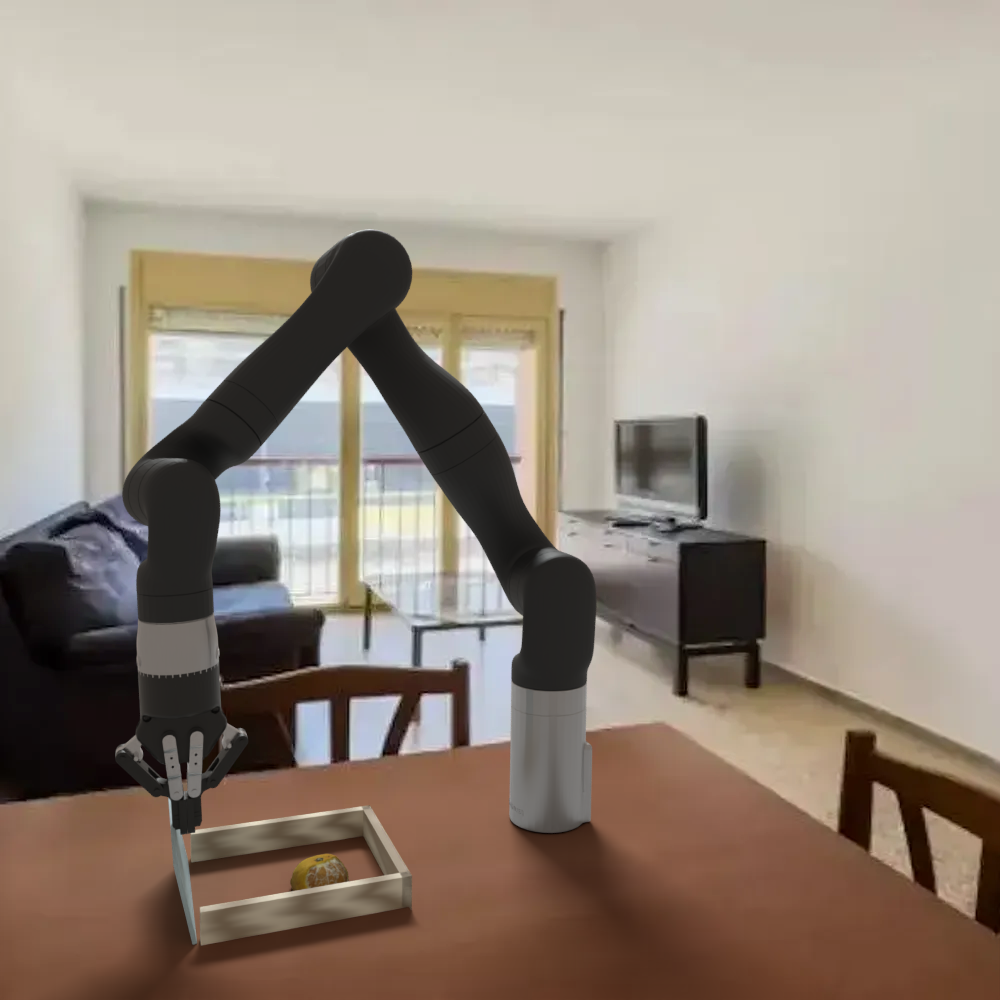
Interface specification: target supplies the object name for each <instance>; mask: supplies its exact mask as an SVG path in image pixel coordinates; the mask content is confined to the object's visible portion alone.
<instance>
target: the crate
mask: <svg viewBox="0 0 1000 1000" xmlns="http://www.w3.org/2000/svg"><path fill="white" fill-rule="evenodd" d="M359 837H363V838H364V839H365V842H366V844H367V847H369V850H370V851H371V853H372V855H373V857H374V859H375V861H376V863H377V864H378V866H379V868H380V870H381V871H382V873H383V875H379V876H374V877H367V878H361V879H356V880H349V881H348V882H343V883H337V884H332V885H326V886H320V887H314V888H308V889H302V890H297V891H293V890H292V891H286V892H285V891H284V892H280V893H274V894H268V895H263V896H262V895H261V896H257V897H251V898H246V899H240V900H234V901H228V902H222V903H216V904H210V905H204V906H199V940H200V946H206V945H210V944H215V943H222V942H226V941H232V940H233V941H234V940H237V939H242V938H243V939H244V938H248V937H253V936H254V937H255V936H258V935H259V936H260V935H265V934H270V933H275V932H280V931H286V930H293V929H297V928H301V927H308V926H314V925H319V924H325V923H329V922H334V921H340V920H346V919H350V918H351V919H352V918H355V917H360V916H361V917H362V916H368V915H372V914H373V915H374V914H377V913H382V912H388V911H393V910H394V911H395V910H399V909H404V908H409V910H410V911H412V909H413V908H412V906H413V904H412V903H413V897H412V896H413V875H412V873H411V871H410V870H409V869H408V867H407V865H406V863H405V862H404V860H403V859H402V857H401V855H400V854H399V852H398V850H397V848H396V847H395V845H394V843H393V842H392V840H391V838H390V836H389V835H388V834H387V832H386V830H385V829H384V827H383V824H382V823H381V822H380V820H379V818H378V817H377V815H376V813H375V812H374V810H373V808H372V807H371V805H370V804H369V805H362V806H361V805H360V806H355V807H354V806H353V807H347V808H339V809H334V810H327V811H320V812H319V811H318V812H314V813H312V812H311V813H306V814H298V815H291V816H285V817H283V816H282V817H279V818H271V819H263V820H258V821H257V820H256V821H250V822H242V823H237V824H236V823H235V824H230V825H227V824H226V825H221V826H215V827H208V828H198V829H195V833H190V838H189V839H190V863H195V862H196V863H197V862H204V861H209V860H210V861H211V860H217V859H221V858H222V859H223V858H229V857H236V856H242V855H248V854H255V853H256V854H257V853H261V852H268V851H274V850H282V849H289V848H292V847H293V848H294V847H301V846H307V845H314V844H320V843H326V842H327V843H328V842H333V841H340V840H345V839H352V838H353V839H354V838H359Z"/></svg>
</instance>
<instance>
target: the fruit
mask: <svg viewBox="0 0 1000 1000" xmlns="http://www.w3.org/2000/svg"><path fill="white" fill-rule="evenodd" d="M289 881H290V882H289V884H290V886H291V890H292V891H297V890H302V889H308V888H314V887H320V886H326V885H332V884H337V883H343V882H349V881H350V879H349V872H348V869H347V867H346V866H345V864H344V863H343V861H341V859H340V858H339V857H338V856H337V855H335V854H332V853H322V854H317V855H316V854H315V855H313V856H310V857H307V858H305V859H303V860H301V861H300V862H299V863H298V864H297V866H296V867H295V868H294V870H293V872H292V875H291V878H290V880H289Z"/></svg>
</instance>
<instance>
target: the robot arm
mask: <svg viewBox="0 0 1000 1000" xmlns="http://www.w3.org/2000/svg"><path fill="white" fill-rule="evenodd" d="M412 282H413V267H412V260H411V257H410V256H409V253H408V252H407V250H406V248H405V246H404V245H403V244H402V243H401V242H400V241H399V240H398V239H397V238H396V237H395V236H393V235H391V234H390V233H387V232H385V231H383V230H379V229H372V228H371V229H368V228H367V229H361V230H357V231H354V232H352V233H350V234H348V235H346V236H344V237H343V238H341V239H340V240H338V241H337V242H336V244H333V246H331V248H329V249H328V250H326V251H325V252H324V253H323V254H322V255H320V257H319V258H318V259H317V260H316V261H315V263H314V265H313V267H312V269H311V273H310V278H309V285H310V294H309V295H308V296H307V297H306V299H305V300H304V301H303V303H302V304H301V305H299V307H298V308H297V309H296V310H295V311H294V312H293V314H291V315H290V316H289V318H287V319H286V320H285V322H283V324H281V325H280V326H279V327H278V328H277V329H276V330H275V331H274V332H273V333H272V334H270V336H268V337H267V338H266V339H265V340H264V341H263V342H262V343H260V344H259V345H258V347H256V348H255V349H254V350H252V352H250V353H249V354H248V355H247V356H246V357H245V358H244V359H243V360H242V361H241V362H240V363H239V364H238V365H237V366H235V368H234V369H233V370H232V371H231V372H230V373H229V374H228V375H227V376H226V377H225V378H224V379H223V380H222V381H221V382H220V384H219V385H218V386H217V387H216V388H214V390H213V391H212V392H211V393H210V394H209V395H208V397H206V399H204V401H203V402H202V403H201V404H200V406H199V407H198V408H197V409H196V411H195V412H194V413H193V414H192V415H191V416H190V417H189V418H188V419H186V420H185V421H184V422H183V423H181V424H180V425H179V426H177V427H176V428H174V429H173V430H171V432H169V433H168V434H167V435H166V436H165V437H163V438H162V439H161V440H159V441H158V442H157V443H155V445H154V446H152V447H151V448H150V449H149V450H148V451H146V452H145V453H144V454H143V455H142V456H141V457H140V458H139V459H138V460H137V461H136V463H135V464H134V465H133V467H132V468H131V469H130V471H129V472H128V473H127V476H126V477H125V480H124V482H123V485H122V502H123V505H124V508H125V510H126V512H127V513H128V514H129V515H130V517H131V518H133V520H134V521H136V522H138V523H139V524H140V525H143V526H146V527H147V531H148V532H147V552H146V559H144V560H143V561H141V562H140V564H139V565H138V568H137V571H136V580H135V581H136V582H135V583H136V586H135V587H136V589H135V591H136V606H137V618H138V619H137V634H136V666H137V679H138V680H137V681H138V693H139V694H138V695H139V696H138V699H139V713H140V714H139V715H140V716H139V721H138V722H137V725H136V727H135V735H133V736H132V737H131V738H130V739H129V740H128V741H127V742H125V743H121V744H119V745H118V746H117V747H116V749H115V759H114V760H115V762H116V763H117V765H119V766H120V767H121V769H123V770H124V771H125V773H127V774H128V775H129V776H131V778H132V779H133V780H135V782H136V783H138V784H139V785H140V786H141V787H142V788H143V789H144V790H145V791H146V792H148V793H149V795H151V796H152V797H154V798H159V797H166V798H169V799H170V800H171V810H172V826H173V828H175V830H178V829H180V835H182V836H183V835H188V834H190V833H195V830H196V827H201V825H202V822H203V813H202V795H203V793H204V792H205V791H207V790H210V789H216V788H217V787H218V786H219V785H220V783H221V782H222V781H223V779H224V778H225V776H226V775H227V774H228V772H229V771H230V770H231V768H232V767H233V765H234V764H235V762H236V761H237V759H238V758H239V757H240V755H241V754H242V752H243V751H244V749H246V747H247V746H248V744H249V738H248V735H247V732H246V729H244V728H241V727H238V728H236V727H234V726H233V725H231V724H229V723H228V719H227V716H226V714H225V712H224V711H223V709H222V701H221V680H220V679H221V678H220V677H221V676H220V658H219V657H220V648H219V637H218V630H217V624H216V620H215V613H214V612H215V607H214V606H215V605H214V604H215V603H214V587H213V586H214V585H213V584H214V583H213V575H212V569H213V563H214V559H215V555H216V550H217V544H218V536H219V530H220V522H221V511H222V510H221V497H220V496H221V495H220V492H219V487H218V485H217V482H216V480H217V479H218V478H219V477H220V476H221V475H222V474H223V473H224V472H226V471H227V470H229V469H230V468H233V467H236V466H239V465H242V464H244V463H245V462H247V461H249V459H251V457H253V456H254V455H255V454H256V453H257V452H258V450H260V449H261V447H262V446H263V445H264V443H265V442H267V440H268V439H270V437H271V435H273V433H274V432H276V430H277V428H278V427H279V426H280V425H281V424H282V423H283V422H284V420H285V419H286V418H287V417H288V415H289V414H290V413H291V411H293V410H294V408H295V407H296V406H297V405H298V403H299V402H300V401H301V400H302V398H303V397H304V396H305V395H306V394H307V392H308V391H310V389H311V387H313V386H314V384H315V383H316V382H317V380H318V379H319V378H320V377H321V376H322V375H323V373H324V372H325V371H326V370H327V369H328V367H330V365H331V364H332V363H333V362H334V361H335V360H336V359H337V358H338V357H339V356H340V355H341V354H342V353H343V351H344V350H346V349H348V351H350V353H351V354H352V355H353V356H354V358H355V359H356V360H357V362H358V363H359V364H360V366H361V367H362V368H363V370H364V371H365V373H366V374H367V375H368V377H369V378H370V379H371V382H373V384H374V385H375V388H376V389H377V391H379V393H380V395H381V397H382V398H383V400H384V402H385V403H386V405H387V406H388V408H389V410H390V412H391V413H392V414H393V416H394V418H395V419H396V420H397V422H398V423H399V425H400V426H401V429H403V431H404V433H405V435H406V436H407V438H408V439H409V441H410V443H411V445H412V447H413V448H414V450H415V452H416V453H417V455H418V456H419V459H420V460H421V461H422V463H423V464H424V465H425V467H426V469H427V471H428V472H429V474H430V475H431V477H432V479H433V480H434V482H436V484H437V486H438V487H439V488H440V490H441V491H442V492H443V493H444V496H446V498H447V500H448V501H449V503H450V504H451V506H453V508H454V509H455V510H456V512H457V513H458V515H459V516H460V518H461V519H462V520H463V521H464V523H465V524H466V525H467V527H468V528H469V529H470V530H471V532H472V533H473V535H474V536H475V537H476V539H477V540H478V543H479V545H480V546H481V548H482V550H483V552H484V554H485V556H486V558H487V560H488V561H489V563H490V566H491V567H492V570H493V572H494V573H495V575H496V577H497V580H498V582H499V584H500V586H501V588H502V590H503V592H504V595H505V596H506V599H507V600H508V602H509V603H510V605H511V606H512V607H513V608H514V610H515V611H516V612H517V613H519V615H521V616H522V628H521V629H522V631H521V632H522V633H521V645H520V646H521V647H520V650H519V652H518V653H517V654H515V655H514V656H513V658H512V660H511V668H510V669H511V673H510V674H511V675H510V678H511V679H510V681H511V682H510V684H511V685H510V747H509V749H510V751H509V752H510V753H509V755H510V756H509V799H508V801H509V803H508V805H509V815H508V816H509V819H510V821H511V822H512V823H513V824H514V825H516V826H518V827H519V828H521V829H523V830H527V831H530V832H535V833H545V834H547V833H548V834H553V833H554V834H555V833H556V834H557V833H562V832H568V831H571V830H574V829H576V828H578V827H579V826H581V825H582V824H583V823H588V822H591V820H592V783H593V782H592V780H593V779H592V777H593V775H592V774H593V747H592V745H591V744H590V743H589V742H588V741H587V740H586V739H587V734H586V733H587V730H586V729H587V698H588V697H587V694H588V693H587V692H588V690H587V689H588V687H587V686H588V685H587V684H588V683H587V682H588V670H589V667H590V665H591V663H592V660H593V656H594V651H595V639H596V638H595V636H596V624H597V623H596V622H597V617H596V616H597V597H598V596H597V586H596V582H595V578H594V575H593V572H592V571H591V569H590V567H589V566H588V565H587V564H586V563H585V562H584V561H583V560H582V559H580V558H578V557H577V556H574V555H573V554H570V553H567V552H563V551H561V550H559V549H558V548H556V546H555V545H554V544H553V542H552V541H550V540H549V538H548V537H547V535H546V534H545V533H544V531H542V529H541V528H540V526H539V524H538V523H537V522H536V520H535V519H534V517H533V516H532V514H531V513H530V511H529V510H528V508H527V506H526V503H525V502H524V500H523V497H522V495H521V491H520V489H519V485H518V481H517V479H516V478H517V477H516V474H515V471H514V468H513V467H514V466H513V464H512V461H511V459H510V455H509V453H508V451H507V448H506V446H505V444H504V441H503V440H502V437H501V436H500V434H499V433H498V430H496V427H495V425H493V423H492V421H491V419H490V418H489V416H488V415H487V413H486V412H485V410H484V408H483V406H482V405H481V403H480V402H479V401H478V399H477V398H476V397H475V395H474V394H473V393H472V392H471V391H470V390H469V389H468V388H467V387H466V386H465V385H464V384H463V383H462V382H460V381H459V380H458V379H457V378H456V377H455V376H453V375H452V374H451V373H450V372H448V371H447V370H446V369H445V368H444V367H442V366H441V365H440V364H438V362H436V361H435V360H434V359H433V358H431V357H430V356H429V355H428V354H427V353H426V352H425V351H424V350H423V349H422V348H421V346H419V344H418V343H417V342H416V340H415V339H414V338H413V335H412V334H411V333H410V331H409V330H408V328H407V326H406V325H405V323H404V321H403V319H402V318H401V316H400V314H399V313H398V311H397V308H398V307H399V306H400V305H401V304H402V302H404V300H405V298H406V297H407V295H408V294H409V291H410V290H411V285H412ZM222 735H223V737H222ZM221 737H222V740H221V745H222V748H221V750H220V751H219V753H218V754H217V756H216V757H215V758H214V760H213V761H212V763H211V764H210V765H209V766H208V768H207V769H206V771H205V772H203V760H205V758H207V757H208V756H209V755H210V754H211V752H212V750H213V749H214V747H215V746H216V744H217V742H218V741H219V739H220V738H221ZM142 746H143V747H144V748H145V750H147V752H149V754H151V756H152V757H153V758H154V759H155V760H156V761H157V762H158V763H160V764H162V765H165V770H166V777H167V778H163V777H162V776H160V774H158V773H157V772H156V771H155V770H154V769H153V768H152V767H151V766H150V765H149V764H148V763H147V762H146V761H145V760H144V759H143V757H144V752H143V749H142V748H141V747H142ZM183 763H186V764H187V769H186V771H187V772H186V786H187V790H184V784H183V781H182V780H183V779H182V772H181V764H183Z"/></svg>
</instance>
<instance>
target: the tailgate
mask: <svg viewBox="0 0 1000 1000" xmlns="http://www.w3.org/2000/svg"><path fill="white" fill-rule="evenodd" d="M167 798H168V797H167ZM167 800H168V811H169V813H168V814H169V825H170V827H169V828H170V841H171V851H172V852H171V853H172V866H173V870H174V874H175V878H176V882H177V886H178V890H179V895H180V899H181V903H182V906H183V907H182V908H183V910H184V911H183V912H184V914H185V915H184V916H185V919H186V924H187V928H188V932H189V935H190V940H191V944H192V945H193V946H194V945H197V944H198V940H197V931H196V928H197V927H196V919H195V911H194V902H193V893H192V891H193V890H192V883H191V875H190V874H191V873H190V867H189V865H190V864H189V859H188V858H189V857H188V854H187V851H186V846H185V845H186V844H185V841H184V838H183V835H180V829H178V830H175V828H173V826H172V810H171V800H170V799H169V798H168V799H167Z"/></svg>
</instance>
